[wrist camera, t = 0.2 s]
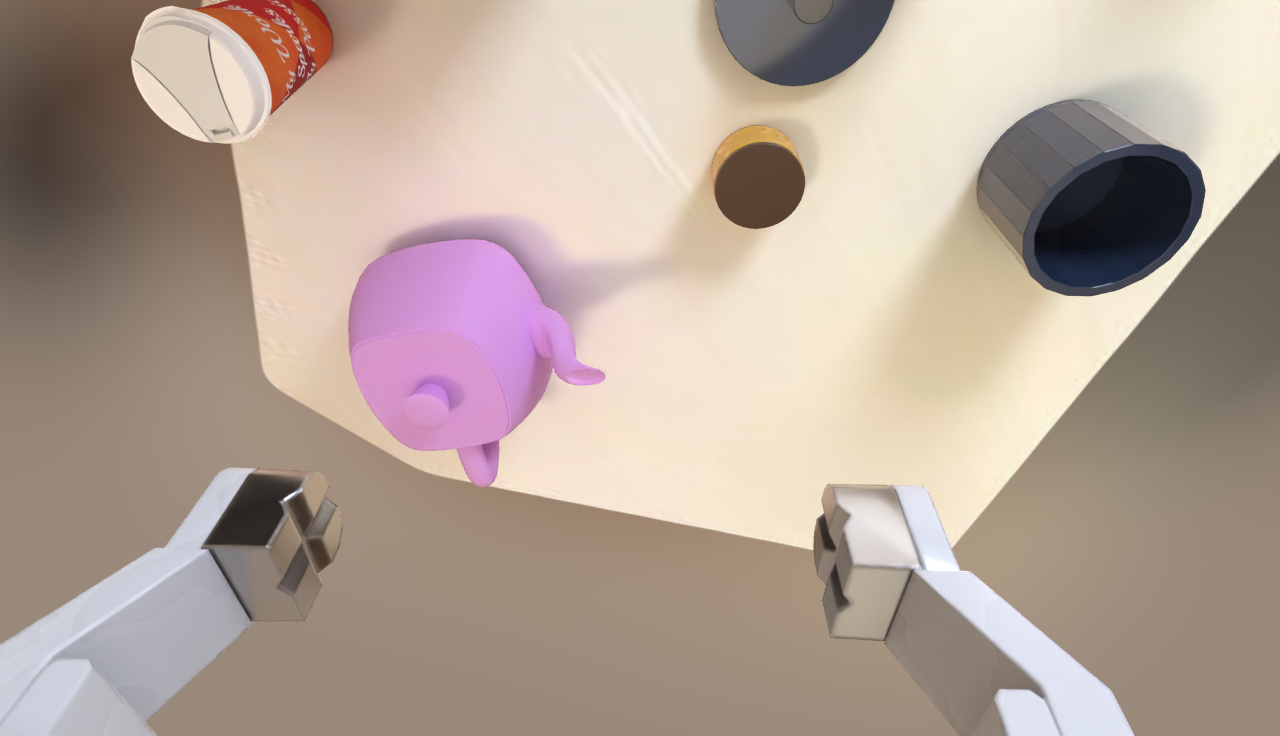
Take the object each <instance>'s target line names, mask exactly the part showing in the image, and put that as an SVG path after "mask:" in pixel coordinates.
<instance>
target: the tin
mask: <svg viewBox="0 0 1280 736" xmlns="http://www.w3.org/2000/svg"><path fill="white" fill-rule="evenodd" d="M712 180H713V187H714V195H715V199H716V201H717V204H718V206H719V208H720V210H721V212H722V213H723V214H724V215H725V217H727V218H728V219H729V220H730V221H732V222H733V223H735V224H737V225H739V226H742V227H746V228H753V229H759V228H766V227H770V226H773V225H775V224H778V223H780V222H781V221H783V220H784V219H786V218H787V217H788V216H789V215H791V214H792V212H793V211H794V210H795V209H796V208H797V206H798V205H799V203H800V201H801V199H802V196H803V193H804V188H805V177H804V171H803V167H802V164H801V162H800V159H799V157H798V154H797V152H796V149H795V147H794V145H793V143H792V142H791V141H790V139H789V138H788V137H787V136H786V135H784V134H783V133H782V132H780V131H778V130H777V129H774V128H771V127H767V126H750V127H746V128H743V129H740V130H738V131H736V132H734V133H733V134H731V135H730V136H729V137H727V138H726V139H725V140H724V141H723V142H722V144H721V145H720V146H719V148H718V150H717V151H716V154H715V156H714V159H713V162H712Z"/></svg>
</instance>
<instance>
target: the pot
mask: <svg viewBox="0 0 1280 736" xmlns="http://www.w3.org/2000/svg"><path fill="white" fill-rule="evenodd" d="M1205 191H1206V190H1205V186H1204V181H1203V177H1202V173H1201V170H1200V168H1199V167H1198V166H1197V165H1196V164H1195V163H1194V162H1193V161H1192V160H1191V158H1190V157H1189V156H1188V155H1187V154H1186V153H1185V152H1183V151H1181V150H1180V149H1178V148H1177V147H1175V146H1173V145H1172V144H1170V143H1169V142H1167V141H1165V140H1164V139H1162V138H1161V137H1159V136H1157V135H1156V134H1154V133H1152V132H1151V131H1149V130H1148V129H1146V128H1144V127H1143V126H1141V125H1140V124H1138V123H1136V122H1135V121H1133V120H1132V119H1130V118H1128V117H1127V116H1125V115H1124V114H1122V113H1120V112H1119V111H1117V110H1116V109H1113V108H1110V107H1109V106H1107V105H1104V104H1102V103H1099V102H1095V101H1091V100H1068V101H1063V102H1058V103H1054V104H1051V105H1048V106H1045V107H1043V108H1041V109H1038V110H1036V111H1034V112H1032V113H1031V114H1029V115H1027V116H1025V117H1024V118H1022V119H1021V120H1019V121H1018V122H1017V123H1016V124H1014V125H1013V126H1012V127H1011V128H1009V129H1008V130H1007V131H1006V132H1005V133H1004V134H1003V135H1002V136H1001V137H1000V139H999V140H998V141H997V142H996V143H995V145H994V146H993V147H992V149H991V150H990V152H989V153H988V155H987V157H986V159H985V161H984V163H983V165H982V168H981V170H980V174H979V178H978V183H977V200H978V205H979V208H980V210H981V213H982V214H983V216H984V218H985V219H986V222H987V223H988V224H989V225H990V227H991V228H992V229H993V230H994V232H995V233H996V234H997V235H998V236H999V238H1000V239H1001V240H1002V241H1003V243H1004V244H1005V245H1006V246H1007V248H1008V249H1009V250H1010V251H1011V252H1012V254H1013V255H1014V256H1015V257H1016V259H1017V260H1018V261H1019V262H1020V264H1021V265H1022V266H1023V267H1024V268H1025V270H1026V271H1027V272H1028V273H1029V275H1030V276H1031V277H1032V278H1033V279H1035V280H1036V281H1037V282H1038V283H1039V284H1040V285H1042V286H1043V287H1044V288H1046V289H1048V290H1051V291H1054V292H1057V293H1060V294H1063V295H1067V296H1094V295H1099V294H1103V293H1108V292H1112V291H1117V290H1120V289H1122V288H1124V287H1126V286H1128V285H1131V284H1133V283H1135V282H1137V281H1139V280H1142V279H1144V278H1145V277H1147V276H1148V275H1149V274H1151V273H1152V272H1154V271H1155V270H1156V269H1158V268H1159V267H1161V266H1162V265H1163V264H1165V263H1166V262H1168V260H1170V259H1171V258H1172V257H1173V256H1174V255H1175V253H1176V252H1177V251H1178V250H1179V249H1180V248H1181V247H1182V246H1183V245H1184V244H1185V243H1186V241H1187V240H1188V239H1189V237H1190V236H1191V234H1192V232H1193V230H1194V228H1195V226H1196V224H1197V223H1198V221H1199V219H1200V217H1201V214H1202V208H1203V203H1204V197H1205Z"/></svg>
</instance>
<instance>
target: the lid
mask: <svg viewBox="0 0 1280 736" xmlns="http://www.w3.org/2000/svg"><path fill="white" fill-rule="evenodd" d="M893 3H894V0H715V11H716V18H717V22H718V26H719V30H720V32H721V35H722V38H723V40H724V42H725V44H726V46H727V48H728V49H729V51H730V52H731V54H732V55H733V56H734V58H735V59H736V60H737V61H738V62H739V63H740V64H741V65H742V66H743V67H744V68H745V69H746V70H748V71H749V72H750V73H751V74H753V75H755V76H757V77H758V78H760V79H762V80H765V81H768V82H770V83H774V84H778V85H785V86H804V85H809V84H815V83H818V82H821V81H824V80H827V79H829V78H831V77H833V76H836V75H837V74H839V73H841V72H842V71H844V70H846V69H847V68H848V67H850V66H851V65H852V64H854V63H855V62H856V61H857V60H858V59H859V58H860V57H861V56H862V55H863V54H864V53H866V51H867V50H868V49H869V48H870V47H871V45H872V44H873V43H874V42H875V40H876V39H877V37H878V36H879V34H880V33H881V31H882V29H883V27H884V25H885V23H886V21H887V19H888V17H889V14H890V12H891V9H892V6H893Z"/></svg>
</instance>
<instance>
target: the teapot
mask: <svg viewBox="0 0 1280 736" xmlns="http://www.w3.org/2000/svg"><path fill="white" fill-rule="evenodd" d="M348 331H349V350H350V356H351V363H352V368H353V371H354V375H355V378H356V380H357V383H358V385H359V388H360V390H361V392H362V394H363V396H364V398H365V400H366V402H367V404H368V405H369V407H370V408H371V410H372V411H373V413H374V414H375V415H376V417H377V418H378V420H379V421H380V422H381V423H382V424H383V426H384V427H385V428H386V429H387V430H388V431H389V432H390V434H391V435H392V436H394V437H395V438H396V439H397V440H398V441H399V442H401V443H402V444H404V445H405V446H407V447H409V448H412V449H415V450H422V451H434V450H446V449H454V448H457V451H458V454H459V457H460V460H461V463H462V465H463V467H464V470H465V472H466V474H467V476H468V478H469V479H470V480H471V482H472V483H473V484H475V485H477V486H479V487H486V486H489V485H491V484H492V483H493V482H494V480H495V478H496V476H497V470H498V461H499V440H500V439H502V438H504V437H505V436H506V435H508V434H509V433H510V432H511V431H512V430H514V429H515V428H516V427H517V426H518V425H519V424H520V423H521V422H522V421H523V420H524V419H525V418H526V417H527V416H528V415H529V414H530V413H531V412H532V410H533V409H534V408H535V406H536V405H537V403H538V402H539V400H540V399H541V397H542V395H543V393H544V391H545V389H546V387H547V385H548V382H549V379H550V376H551V372H552V367H553V368H554V371H555V373H556V374H557V376H558V377H559V378H560V379H562V380H563V381H565V382H567V383H570V384H574V385H593V384H597V383H600V382H602V381H603V380H604V379H605V374H604V373H603V372H602V371H601V370H599V369H596V368H593V367H589V366H586V365H584V364H581V363H580V362H579V361H578V360H577V359H576V352H575V342H574V338H573V334H572V332H571V330H570V327H569V325H568V323H567V322H566V320H565V319H564V318H563V317H562V316H561V315H560V314H559V313H558V312H557V311H555V310H553V309H551V308H549V307H546V306H544V304H543V302H542V299H541V297H540V296H539V294H538V292H537V290H536V288H535V286H534V285H533V283H532V282H531V280H530V278H529V277H528V276H527V274H526V273H525V271H524V270H523V268H522V267H521V266H520V264H519V263H518V262H517V261H516V260H515V258H514V257H513V256H512V255H511V254H510V253H509V252H508V251H507V250H505V249H504V248H503V247H501V246H499V245H497V244H496V243H493V242H490V241H487V240H480V239H460V240H449V241H440V242H433V243H426V244H421V245H417V246H413V247H409V248H405V249H402V250H399V251H395V252H392V253H390V254H387V255H385V256H382V257H380V258H378V259H377V260H375V261H374V262H372V263H371V264H369V265H368V266H367V268H366V269H365V270H364V272H363V273H362V275H361V276H360V278H359V281H358V283H357V285H356V288H355V290H354V293H353V296H352V300H351V304H350V310H349V328H348Z"/></svg>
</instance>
